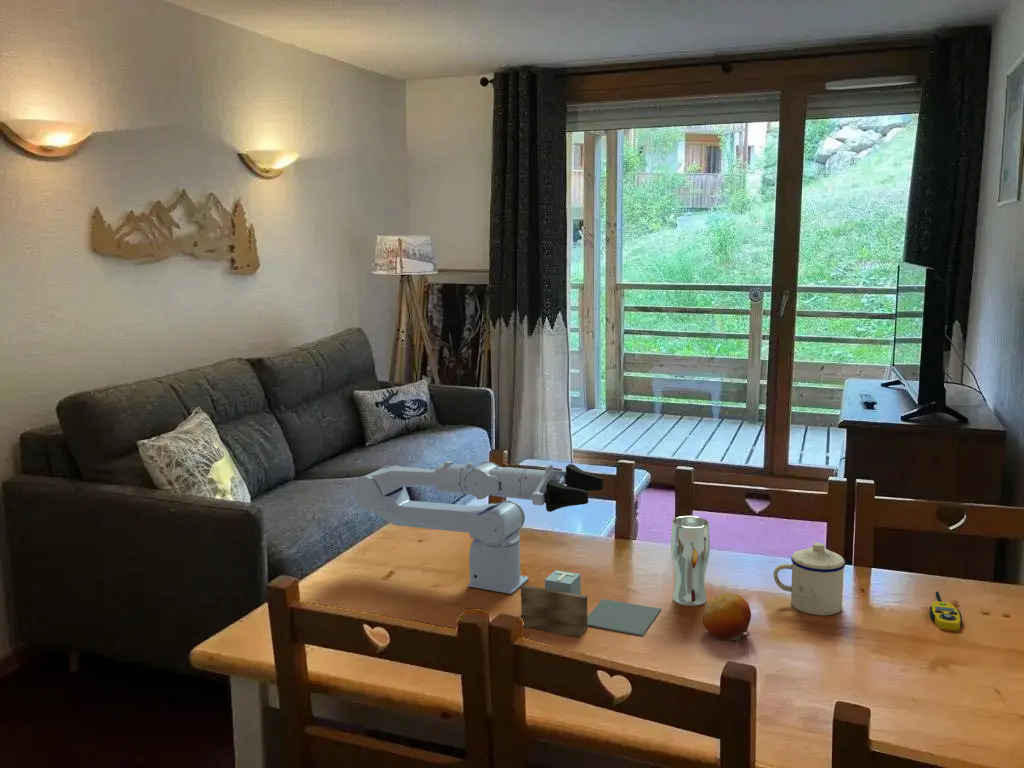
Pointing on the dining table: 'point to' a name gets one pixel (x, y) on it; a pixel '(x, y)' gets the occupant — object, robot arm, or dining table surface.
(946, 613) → the yellow walkie talkie
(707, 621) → the fruit
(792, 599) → the teacup with lid
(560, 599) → the screen
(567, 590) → the letter block
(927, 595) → the dining table surface
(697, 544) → the beer glass
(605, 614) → the mat
